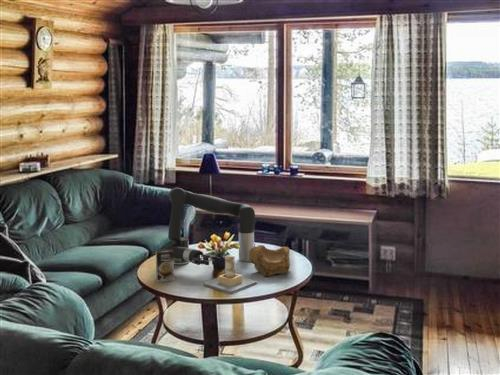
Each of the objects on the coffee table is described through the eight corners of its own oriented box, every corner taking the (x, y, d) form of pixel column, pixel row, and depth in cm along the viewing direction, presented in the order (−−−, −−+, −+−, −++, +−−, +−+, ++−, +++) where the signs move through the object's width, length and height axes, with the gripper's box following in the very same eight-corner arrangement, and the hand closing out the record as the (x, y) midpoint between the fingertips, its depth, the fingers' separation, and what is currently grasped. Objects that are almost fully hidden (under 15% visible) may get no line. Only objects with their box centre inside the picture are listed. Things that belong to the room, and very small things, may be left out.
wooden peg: (229, 279, 298) (229, 254, 296) (236, 281, 295) (236, 256, 292) (223, 282, 294) (223, 256, 292) (230, 284, 291) (230, 258, 289)
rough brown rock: (249, 280, 304) (250, 254, 300) (248, 268, 320) (248, 243, 316) (292, 280, 305) (293, 254, 301) (288, 268, 321) (290, 243, 317)
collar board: (229, 275, 309) (229, 267, 308) (257, 283, 296) (257, 274, 295) (203, 285, 294) (203, 276, 293) (231, 293, 281) (231, 285, 280)
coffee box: (157, 282, 299) (156, 253, 296) (156, 278, 305) (155, 249, 302) (174, 280, 301) (173, 251, 298) (173, 276, 307) (172, 248, 304)
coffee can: (185, 264, 326) (184, 241, 324) (169, 263, 329) (168, 240, 327) (192, 260, 336) (191, 237, 334) (176, 259, 339) (175, 236, 337)
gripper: (183, 252, 305) (204, 257, 294) (202, 246, 316) (223, 251, 305) (183, 265, 306) (204, 271, 296) (202, 259, 317) (223, 265, 306)
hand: (214, 261), depth 300 cm, fingers open, 8 cm apart
